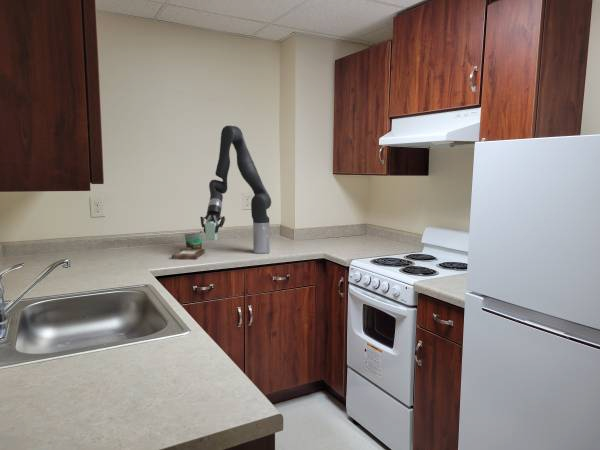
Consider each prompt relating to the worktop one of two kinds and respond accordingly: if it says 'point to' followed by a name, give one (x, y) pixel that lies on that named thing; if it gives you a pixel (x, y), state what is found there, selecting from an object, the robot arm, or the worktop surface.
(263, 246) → the robot arm
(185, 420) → the worktop surface
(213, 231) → the sage block
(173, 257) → the base board
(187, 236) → the food container
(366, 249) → the worktop surface
